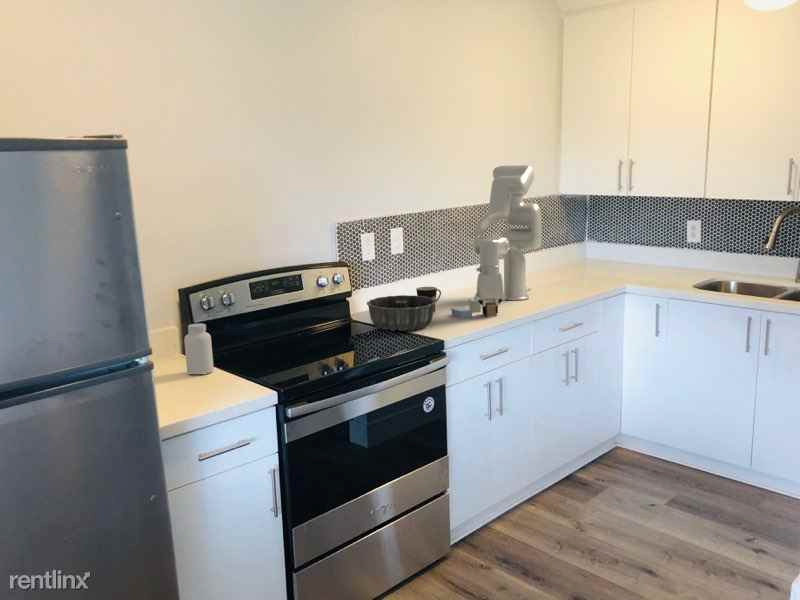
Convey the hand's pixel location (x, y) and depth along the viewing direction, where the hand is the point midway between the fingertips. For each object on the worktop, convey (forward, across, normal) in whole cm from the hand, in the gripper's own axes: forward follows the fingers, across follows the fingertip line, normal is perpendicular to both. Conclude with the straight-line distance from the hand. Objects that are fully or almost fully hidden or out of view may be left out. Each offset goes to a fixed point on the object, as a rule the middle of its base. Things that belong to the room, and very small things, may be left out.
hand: (490, 315), depth 293 cm
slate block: (+1, -11, +2) cm, 11 cm away
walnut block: (0, 0, +1) cm, 1 cm away
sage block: (0, -4, +11) cm, 12 cm away
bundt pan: (+1, -36, -11) cm, 38 cm away
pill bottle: (0, -104, -60) cm, 120 cm away
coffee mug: (0, -22, +14) cm, 26 cm away
